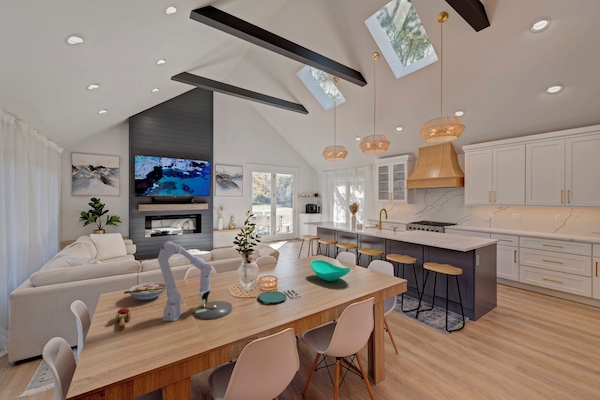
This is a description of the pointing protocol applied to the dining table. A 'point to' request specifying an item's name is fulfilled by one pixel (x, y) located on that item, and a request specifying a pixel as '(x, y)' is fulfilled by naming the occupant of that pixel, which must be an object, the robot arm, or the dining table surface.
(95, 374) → the dining table surface
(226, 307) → the tuner dial
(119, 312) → the kendama
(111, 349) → the dining table surface
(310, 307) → the dining table surface
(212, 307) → the brass vanity light
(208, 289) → the robot arm
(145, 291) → the ramen bowl
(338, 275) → the table top decor
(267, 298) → the cutlery set
